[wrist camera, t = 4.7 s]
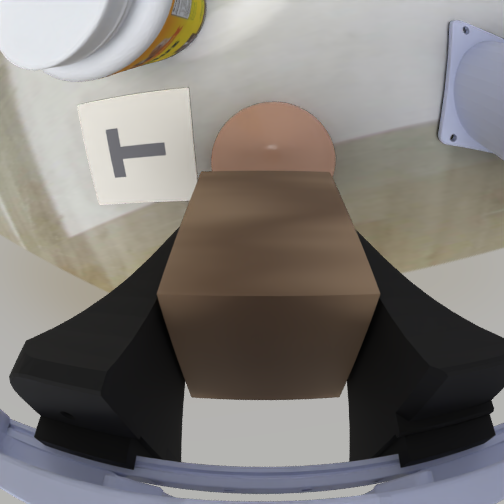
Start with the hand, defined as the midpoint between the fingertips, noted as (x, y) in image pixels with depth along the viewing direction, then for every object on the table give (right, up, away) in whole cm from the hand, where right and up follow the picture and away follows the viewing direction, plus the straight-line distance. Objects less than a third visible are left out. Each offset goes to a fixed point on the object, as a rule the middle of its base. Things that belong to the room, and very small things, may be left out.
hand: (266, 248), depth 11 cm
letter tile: (-7, +6, +6) cm, 11 cm away
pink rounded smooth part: (+1, +5, +7) cm, 9 cm away
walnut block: (0, +1, +1) cm, 2 cm away
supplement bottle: (-5, +12, +2) cm, 14 cm away
